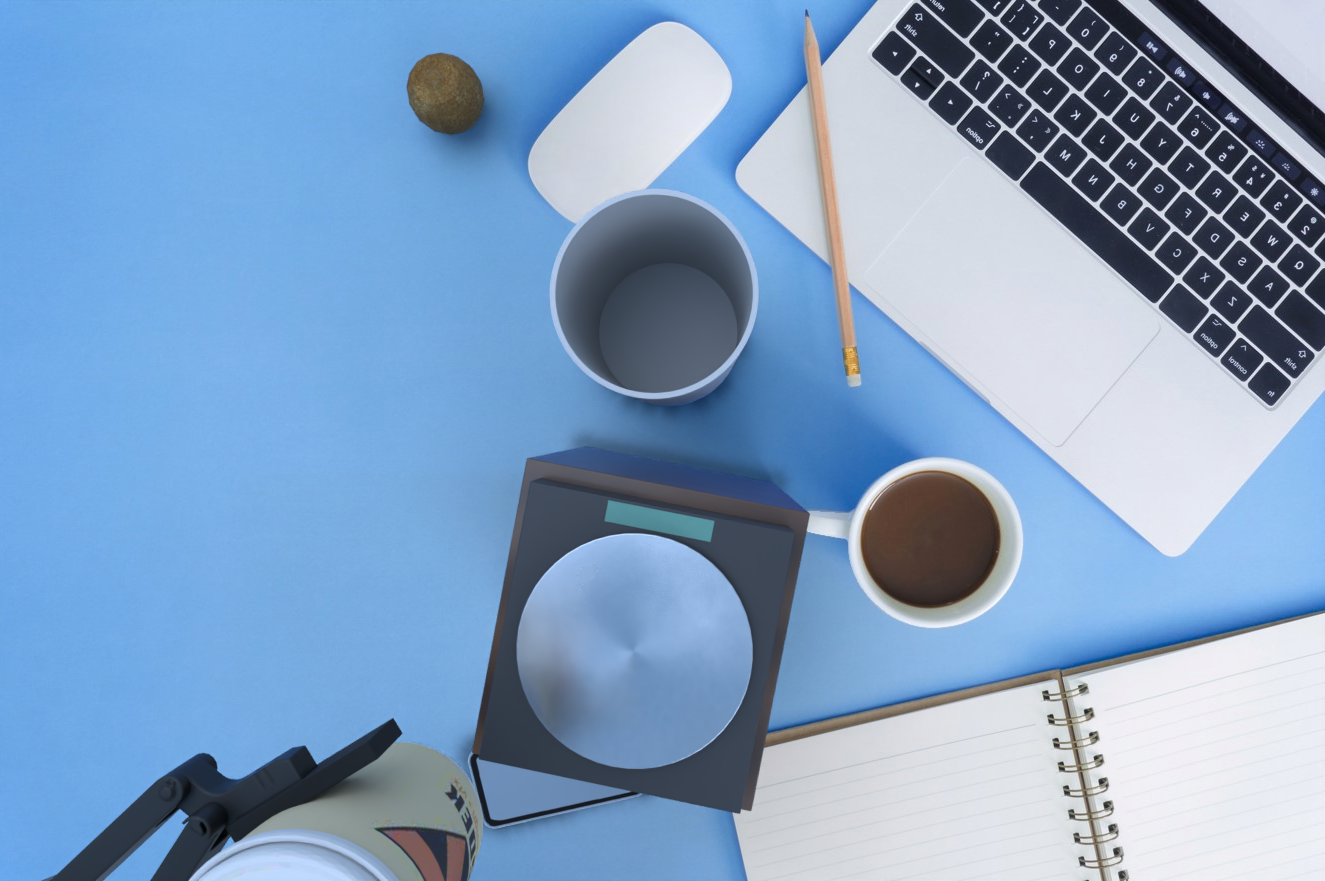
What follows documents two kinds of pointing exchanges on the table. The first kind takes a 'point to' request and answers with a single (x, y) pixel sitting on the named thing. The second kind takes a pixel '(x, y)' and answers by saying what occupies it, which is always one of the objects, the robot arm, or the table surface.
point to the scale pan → (634, 650)
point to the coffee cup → (368, 828)
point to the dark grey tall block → (672, 488)
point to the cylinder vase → (655, 296)
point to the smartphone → (533, 793)
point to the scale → (730, 542)
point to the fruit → (445, 93)
